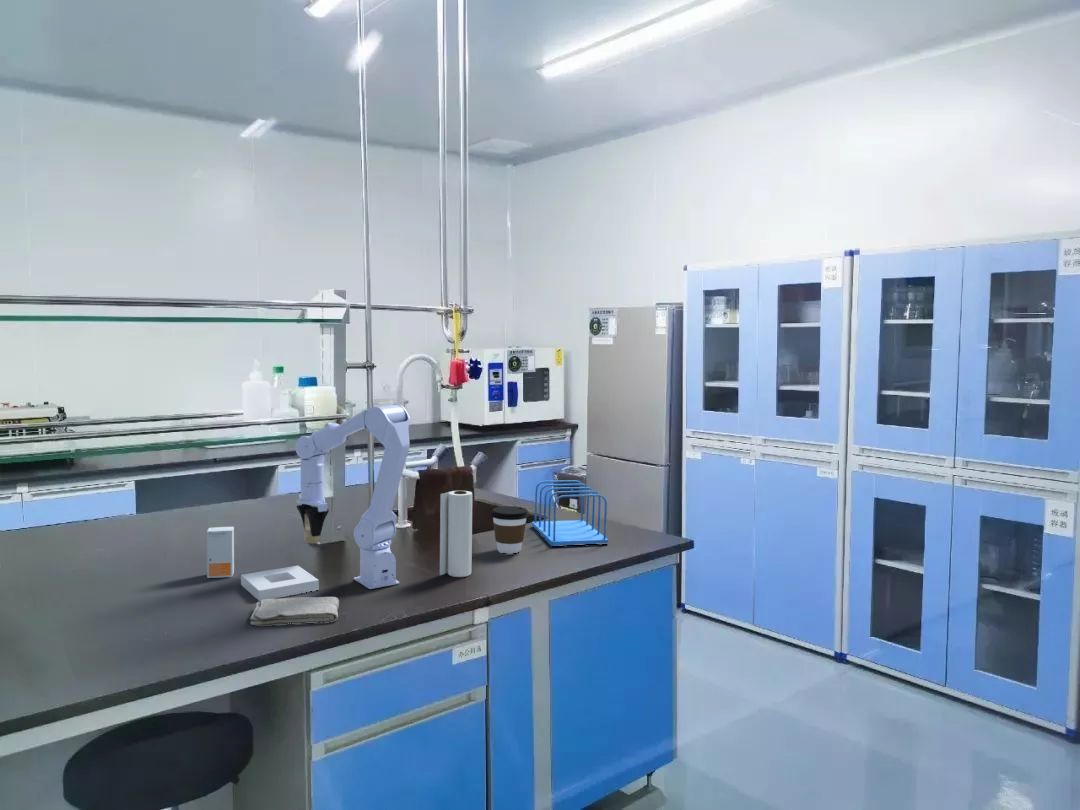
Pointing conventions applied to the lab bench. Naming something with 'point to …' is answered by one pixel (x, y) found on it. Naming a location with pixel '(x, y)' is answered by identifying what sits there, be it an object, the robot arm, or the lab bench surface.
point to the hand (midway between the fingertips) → (312, 533)
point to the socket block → (279, 582)
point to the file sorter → (569, 530)
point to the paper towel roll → (456, 533)
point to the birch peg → (308, 536)
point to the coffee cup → (509, 527)
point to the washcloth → (295, 611)
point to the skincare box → (220, 552)
